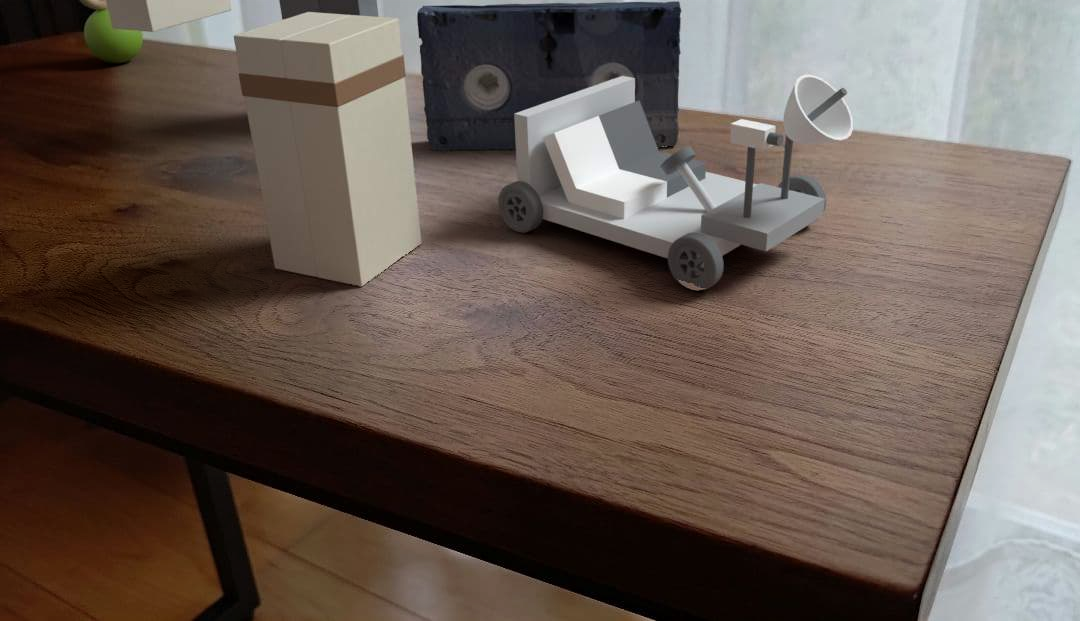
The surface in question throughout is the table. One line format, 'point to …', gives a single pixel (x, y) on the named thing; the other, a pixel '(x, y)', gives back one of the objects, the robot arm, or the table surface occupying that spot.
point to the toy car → (664, 177)
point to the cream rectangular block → (161, 12)
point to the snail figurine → (109, 36)
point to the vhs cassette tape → (542, 64)
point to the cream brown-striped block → (331, 143)
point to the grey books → (328, 7)
